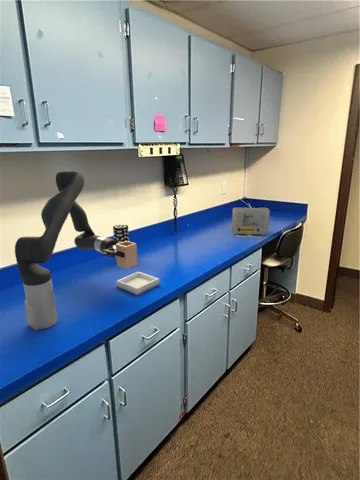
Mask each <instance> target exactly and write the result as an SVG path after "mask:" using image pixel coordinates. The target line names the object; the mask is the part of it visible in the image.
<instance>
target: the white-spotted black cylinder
mask: <svg viewBox="0 0 360 480" xmlns="http://www.w3.org/2000/svg"><path fill="white" fill-rule="evenodd" d="M112 231H113V240H116V241H117V243H121V242H124V241H130V236H129V225H127V224H117V225H114V226H113V227H112ZM114 258H115V259H114V260H115V262H116V263H117V257H116V256H114Z"/></svg>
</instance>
